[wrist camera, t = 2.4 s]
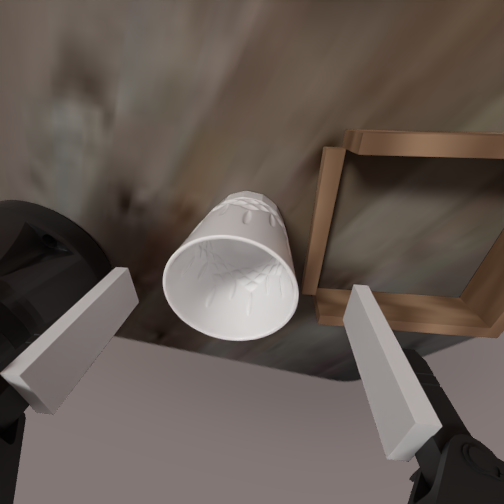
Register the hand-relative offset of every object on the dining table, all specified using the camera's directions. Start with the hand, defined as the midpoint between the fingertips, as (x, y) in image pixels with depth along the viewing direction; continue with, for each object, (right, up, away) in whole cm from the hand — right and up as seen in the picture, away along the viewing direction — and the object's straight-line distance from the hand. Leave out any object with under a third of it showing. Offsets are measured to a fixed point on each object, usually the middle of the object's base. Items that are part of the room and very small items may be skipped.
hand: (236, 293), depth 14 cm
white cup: (0, +5, +8) cm, 10 cm away
